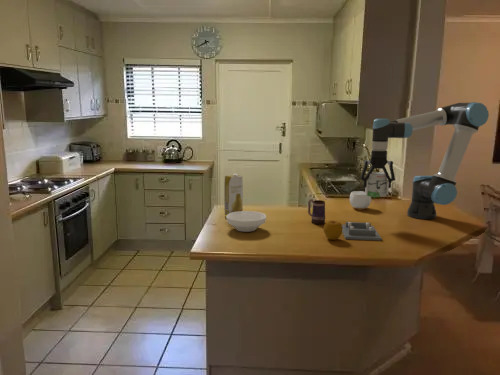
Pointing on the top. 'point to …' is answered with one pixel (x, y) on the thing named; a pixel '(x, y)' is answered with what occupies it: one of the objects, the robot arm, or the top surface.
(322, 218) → the mug
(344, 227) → the tray
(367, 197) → the cup
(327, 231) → the apple
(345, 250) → the top surface
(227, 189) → the juice carton
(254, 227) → the bowl
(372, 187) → the ink box
